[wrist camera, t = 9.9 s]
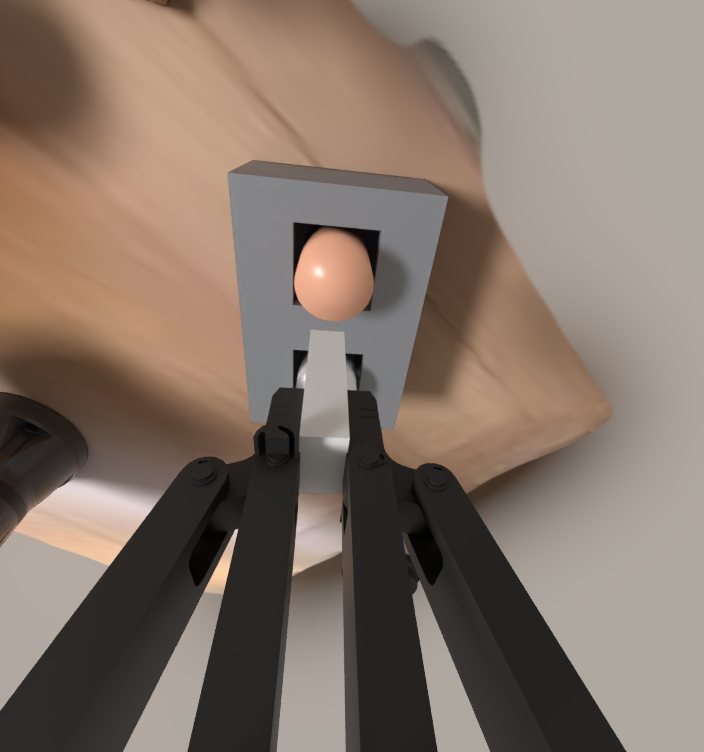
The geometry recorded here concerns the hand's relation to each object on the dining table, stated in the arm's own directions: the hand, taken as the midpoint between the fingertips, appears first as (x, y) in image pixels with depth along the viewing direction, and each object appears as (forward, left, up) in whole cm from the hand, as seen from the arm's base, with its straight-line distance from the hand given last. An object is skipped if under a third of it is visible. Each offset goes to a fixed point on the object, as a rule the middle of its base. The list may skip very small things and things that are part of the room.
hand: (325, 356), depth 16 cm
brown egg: (0, 0, -15) cm, 15 cm away
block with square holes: (-5, 0, -19) cm, 20 cm away
